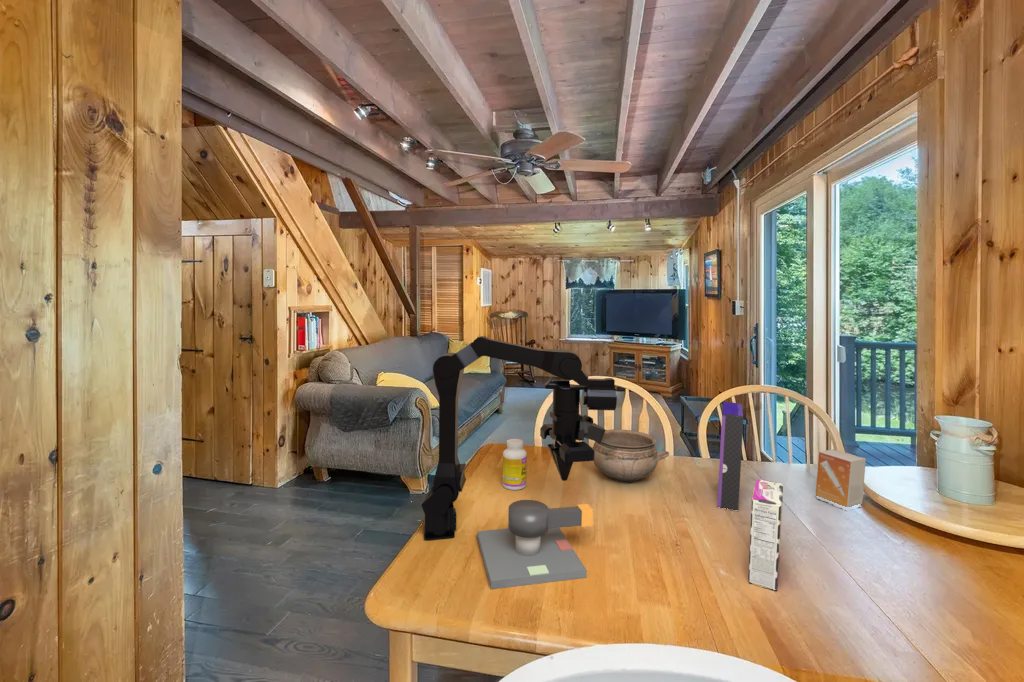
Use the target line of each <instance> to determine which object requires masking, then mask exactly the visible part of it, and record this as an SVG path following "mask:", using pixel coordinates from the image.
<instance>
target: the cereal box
mask: <svg viewBox="0 0 1024 682" xmlns="http://www.w3.org/2000/svg"><path fill="white" fill-rule="evenodd" d="M720 427H721V429H720V431H721V433H720V445H719V446H720V448H719V450H720V451H719V466H718V467H719V468H718V483H717V484H718V486H717V504H716V505H717V506H716V508H717V507H720V508H719V509H722V508H726V509H725V510H727V508H728V509H733V510H738V511H739V503H740V487H741V485H740V483H741V468H742V467H741V466H742V449H743V432H744V411H743V404H742V403H738V402H729V401H728V402H727V401H723V402H722V411H721V426H720ZM733 510H732V511H733Z"/></svg>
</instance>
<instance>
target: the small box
mask: <svg viewBox="0 0 1024 682" xmlns="http://www.w3.org/2000/svg"><path fill="white" fill-rule="evenodd" d="M866 461H867V458H865V457H861V456H857V455H854V454H851V453H848V452H844V451H840V450H837V449H827V450H821V451H819V452H818V462H817V473H816V474H817V475H816V488H815V497H816V496H819V497H822V498H824V499H827V500H829V501H832V502H834V503H837V504H839V505H842V506H845V507H852V506H854V505H858V504H862V505H863V501H864V500H863V499H864V498H863V497H864V487H865V485H864V484H865V473H866V463H867V462H866Z"/></svg>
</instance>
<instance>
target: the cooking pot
mask: <svg viewBox="0 0 1024 682" xmlns="http://www.w3.org/2000/svg"><path fill="white" fill-rule="evenodd" d="M656 442H657V439H656V438H655V437H654V436H653V435H650V434H648V433H645V432H642V431H637V430H631V429H621V428H620V429H618V428H617V429H616V428H615V429H605V433H604V436H603V438H602V441H601V443H597V442H596V441H594V443H593V446H592V447H591V446H590V447H591V448H592V449H593V450H594V451H595V453H594V460H593V461H592V462H593V464H594V465H595V467H596V468H597V469H598V470H599V471H600V472H601V473H603V474H605V475H606V476H608V477H610V478H611V479H612V480H614V481H616V482H619V483H626V484H628V483H633V482H635V481H638V480H640V479H643V478H645V477H648V476H649V475H651V474H652V473H653V472H654V470H656V468H657V465H658V462H659V461H661V460H663V459H666V458H668V457H669V456H670V452H669V451H657V448H656V445H655V444H656Z"/></svg>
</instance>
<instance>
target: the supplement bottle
mask: <svg viewBox="0 0 1024 682" xmlns="http://www.w3.org/2000/svg"><path fill="white" fill-rule="evenodd" d="M506 447H507V448H505V449H504V450H503V451H502V487H503V488H505V489H506V490H510V491H518V490H523V489H524V488H525V487H526V486H527V457H528V456H527V451H526V450H525V449H524V440H522V439H520V438H510V439H507V440H506Z"/></svg>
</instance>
